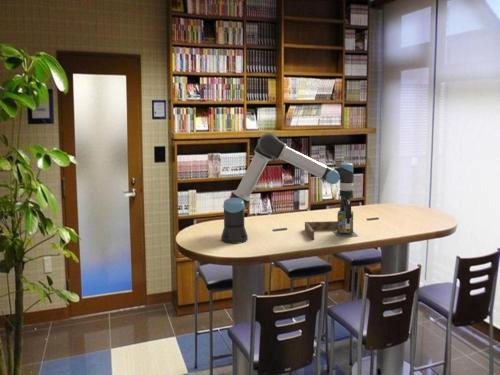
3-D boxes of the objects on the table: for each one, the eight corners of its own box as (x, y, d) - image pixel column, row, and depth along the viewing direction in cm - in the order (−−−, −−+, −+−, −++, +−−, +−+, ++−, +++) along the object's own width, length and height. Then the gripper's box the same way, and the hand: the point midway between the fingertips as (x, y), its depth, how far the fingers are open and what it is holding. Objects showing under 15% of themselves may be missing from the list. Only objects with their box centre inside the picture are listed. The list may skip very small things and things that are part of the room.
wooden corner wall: (311, 239, 262) (311, 231, 261) (304, 229, 284) (304, 221, 283) (360, 238, 264) (361, 230, 263) (350, 228, 285) (350, 220, 285)
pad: (337, 236, 268) (337, 236, 268) (332, 231, 280) (332, 230, 280) (357, 236, 268) (357, 235, 268) (352, 230, 280) (352, 230, 280)
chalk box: (353, 233, 268) (353, 209, 266) (337, 233, 271) (337, 208, 268) (353, 229, 277) (354, 205, 274) (337, 228, 279) (338, 205, 277)
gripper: (358, 192, 259) (356, 231, 262) (347, 186, 281) (346, 221, 285) (344, 193, 258) (343, 231, 262) (335, 186, 281) (334, 221, 284)
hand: (345, 226), depth 273 cm, fingers closed on chalk box, 10 cm apart
